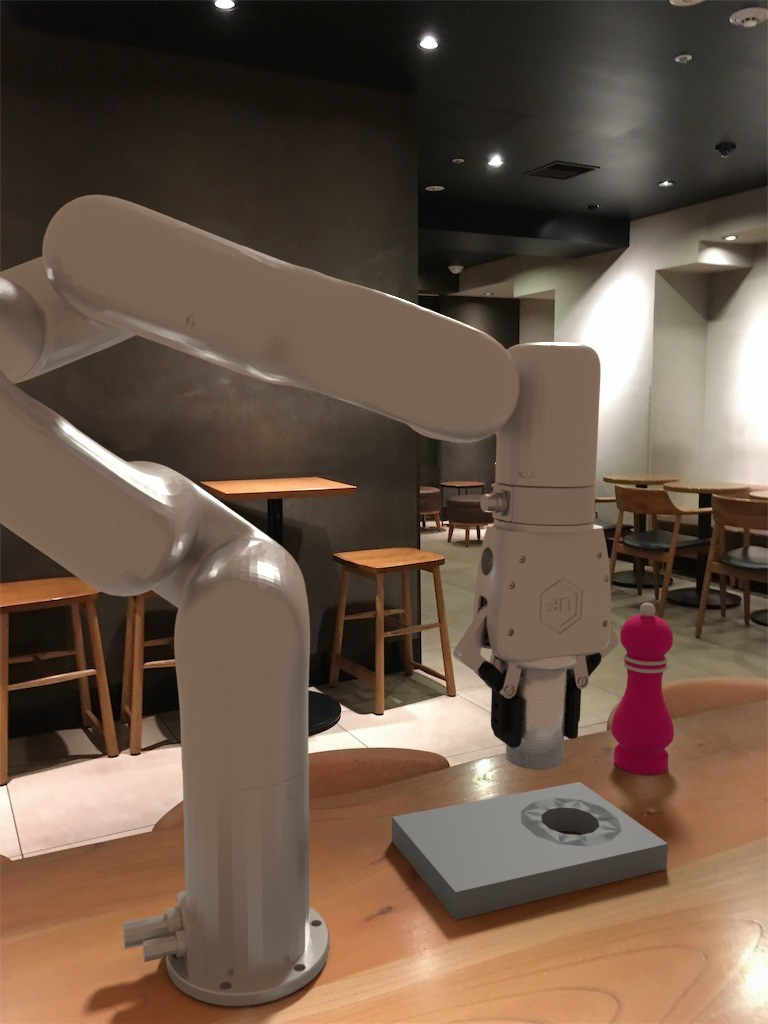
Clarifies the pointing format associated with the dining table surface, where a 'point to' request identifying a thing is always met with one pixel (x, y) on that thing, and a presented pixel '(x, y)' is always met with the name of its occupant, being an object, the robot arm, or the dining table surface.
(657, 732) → the pepper mill
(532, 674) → the grey cylindrical piece
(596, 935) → the dining table surface
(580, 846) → the plate
